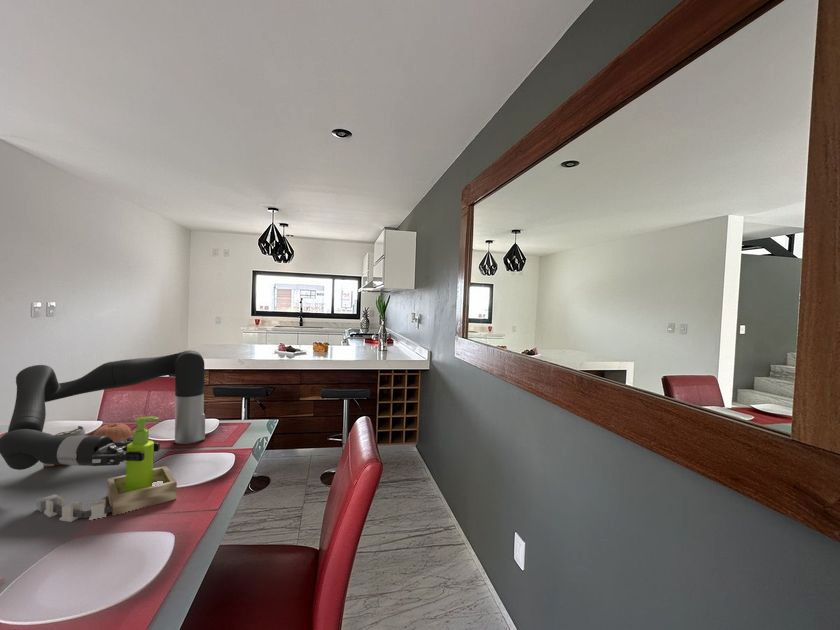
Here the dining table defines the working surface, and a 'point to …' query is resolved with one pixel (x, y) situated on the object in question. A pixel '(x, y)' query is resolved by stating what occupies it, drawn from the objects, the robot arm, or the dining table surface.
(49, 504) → the cable route
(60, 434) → the food container
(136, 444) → the soap dispenser
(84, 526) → the dining table surface
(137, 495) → the open square wooden frame
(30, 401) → the robot arm
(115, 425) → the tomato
